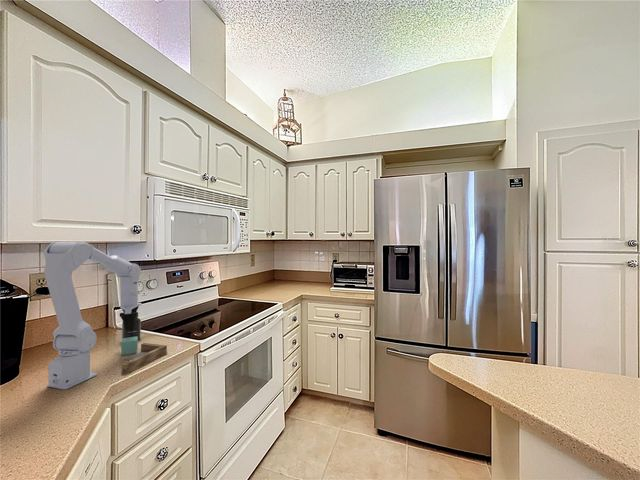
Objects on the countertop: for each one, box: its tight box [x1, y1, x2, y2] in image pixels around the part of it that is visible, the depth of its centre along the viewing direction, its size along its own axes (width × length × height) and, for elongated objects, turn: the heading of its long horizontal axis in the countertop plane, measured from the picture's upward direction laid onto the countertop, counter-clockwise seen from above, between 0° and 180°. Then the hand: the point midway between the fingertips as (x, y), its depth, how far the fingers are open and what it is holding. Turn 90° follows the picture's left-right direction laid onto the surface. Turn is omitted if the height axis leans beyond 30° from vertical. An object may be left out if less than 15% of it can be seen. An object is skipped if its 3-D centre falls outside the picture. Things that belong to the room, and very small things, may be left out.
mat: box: [124, 351, 147, 361], centre depth 106 cm, size 7×7×1 cm
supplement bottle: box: [121, 311, 142, 341], centre depth 124 cm, size 7×7×12 cm
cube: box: [120, 336, 139, 356], centre depth 111 cm, size 5×5×5 cm
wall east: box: [140, 342, 168, 355], centre depth 111 cm, size 2×11×3 cm, turn 75°
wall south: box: [121, 347, 165, 375], centre depth 101 cm, size 16×2×3 cm, turn 165°
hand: (129, 327), depth 111 cm, fingers open, 7 cm apart
